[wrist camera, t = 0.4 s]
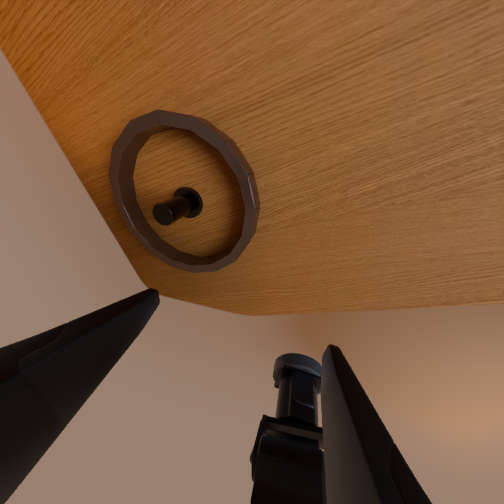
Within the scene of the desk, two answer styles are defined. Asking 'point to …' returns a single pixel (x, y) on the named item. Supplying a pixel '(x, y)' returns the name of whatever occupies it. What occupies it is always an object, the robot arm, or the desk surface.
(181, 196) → the peg stand
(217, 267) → the hoop
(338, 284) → the desk surface
